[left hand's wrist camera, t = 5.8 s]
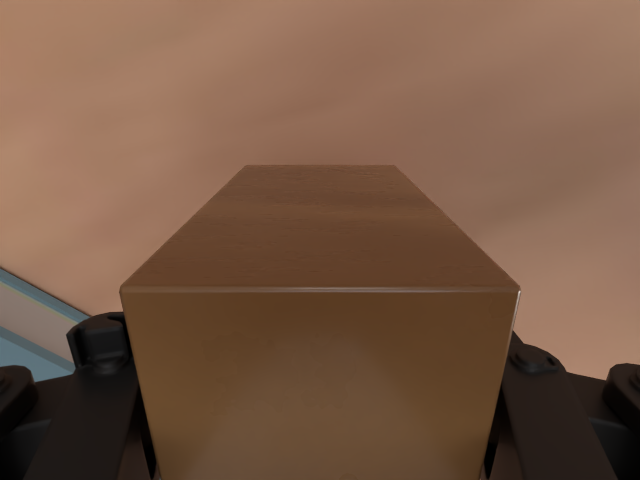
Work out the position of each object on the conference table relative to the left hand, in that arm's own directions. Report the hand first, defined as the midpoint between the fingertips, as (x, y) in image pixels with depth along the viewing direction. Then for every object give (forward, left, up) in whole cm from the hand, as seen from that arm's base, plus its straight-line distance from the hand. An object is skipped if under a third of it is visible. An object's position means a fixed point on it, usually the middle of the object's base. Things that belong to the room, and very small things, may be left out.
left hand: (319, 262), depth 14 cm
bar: (-8, +2, -1) cm, 8 cm away
